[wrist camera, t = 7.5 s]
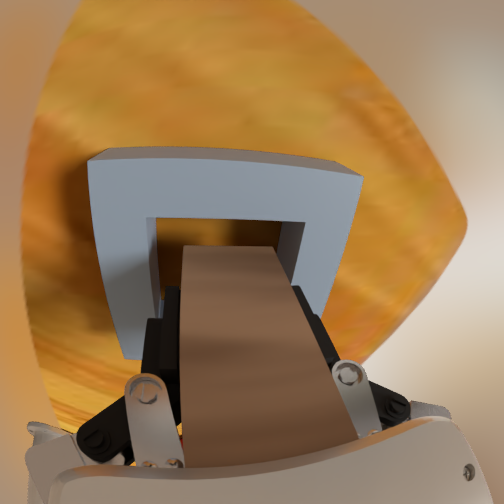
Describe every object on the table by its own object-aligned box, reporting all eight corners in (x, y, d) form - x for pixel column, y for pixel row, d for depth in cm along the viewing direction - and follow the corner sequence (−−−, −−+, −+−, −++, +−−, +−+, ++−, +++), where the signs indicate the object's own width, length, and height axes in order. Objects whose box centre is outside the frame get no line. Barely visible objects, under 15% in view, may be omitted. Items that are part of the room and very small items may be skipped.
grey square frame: (294, 323, 20) (306, 352, 18) (130, 326, 17) (124, 359, 15) (335, 161, 14) (363, 176, 12) (108, 148, 11) (87, 161, 9)
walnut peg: (260, 311, 15) (324, 517, 5) (185, 312, 14) (203, 537, 4) (272, 246, 13) (384, 500, 3) (183, 245, 12) (196, 545, 2)
